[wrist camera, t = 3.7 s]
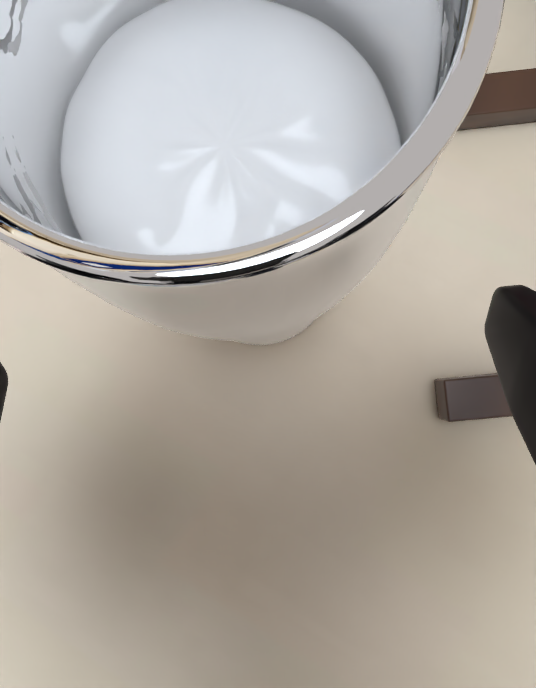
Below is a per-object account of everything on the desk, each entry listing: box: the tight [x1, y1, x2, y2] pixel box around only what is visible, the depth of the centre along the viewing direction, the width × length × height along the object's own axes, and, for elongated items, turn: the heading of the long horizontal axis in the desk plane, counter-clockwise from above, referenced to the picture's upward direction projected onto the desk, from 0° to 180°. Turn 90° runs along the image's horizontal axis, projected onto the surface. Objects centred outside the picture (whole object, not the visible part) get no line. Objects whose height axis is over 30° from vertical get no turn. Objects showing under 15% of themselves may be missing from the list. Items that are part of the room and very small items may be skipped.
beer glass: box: [0, 0, 504, 345], centre depth 12 cm, size 7×7×15 cm
